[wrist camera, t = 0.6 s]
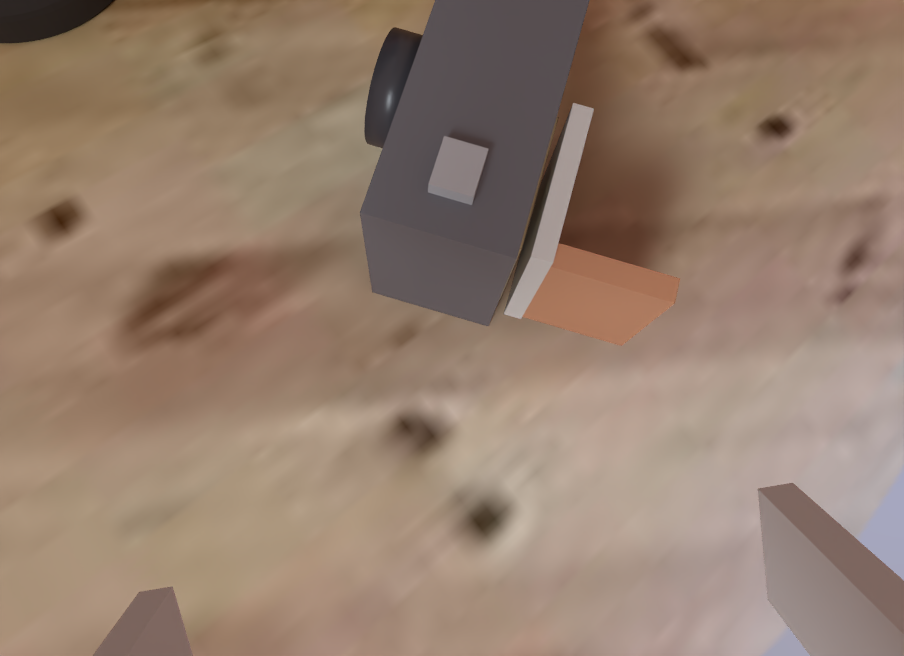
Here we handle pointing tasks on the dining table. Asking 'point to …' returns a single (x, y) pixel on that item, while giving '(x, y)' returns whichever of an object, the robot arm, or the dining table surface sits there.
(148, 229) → the dining table surface
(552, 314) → the side door
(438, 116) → the camera housing
